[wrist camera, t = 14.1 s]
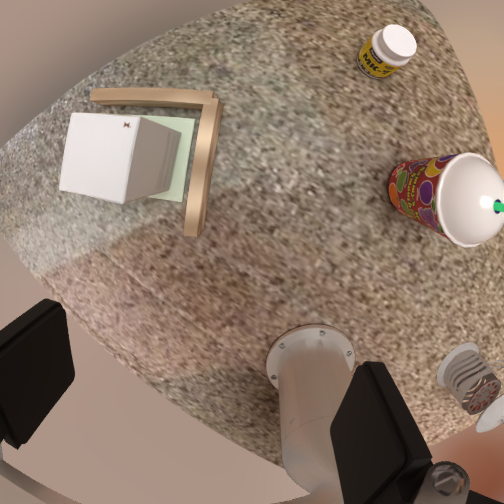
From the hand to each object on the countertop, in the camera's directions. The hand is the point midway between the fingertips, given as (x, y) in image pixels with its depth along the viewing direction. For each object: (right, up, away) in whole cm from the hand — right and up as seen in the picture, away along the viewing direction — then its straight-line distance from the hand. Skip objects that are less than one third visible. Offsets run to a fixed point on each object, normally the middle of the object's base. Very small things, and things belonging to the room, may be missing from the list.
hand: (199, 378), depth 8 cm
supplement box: (-11, +15, +25) cm, 32 cm away
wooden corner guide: (-11, +15, +26) cm, 32 cm away
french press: (+39, -16, +32) cm, 53 cm away
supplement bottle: (+17, +27, +22) cm, 39 cm away
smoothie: (+21, +12, +26) cm, 35 cm away
